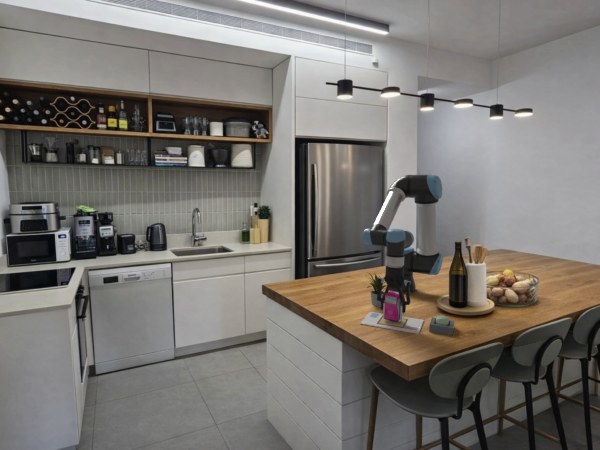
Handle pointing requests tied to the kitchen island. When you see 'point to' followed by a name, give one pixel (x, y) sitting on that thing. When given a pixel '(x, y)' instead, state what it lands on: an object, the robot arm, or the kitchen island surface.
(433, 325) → the soap dish
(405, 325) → the picture sheet
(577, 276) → the kitchen island surface
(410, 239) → the robot arm
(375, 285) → the house plant
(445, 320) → the button
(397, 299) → the supplement box
